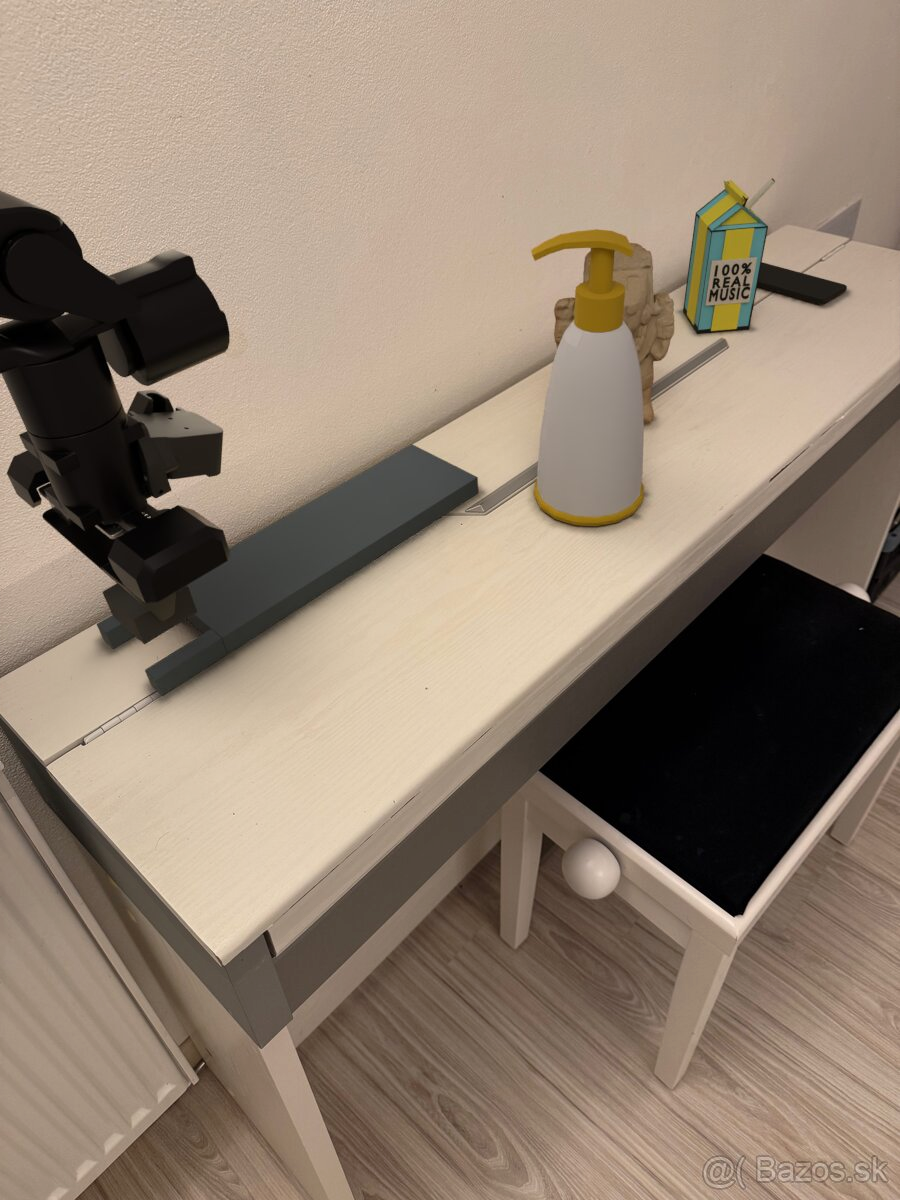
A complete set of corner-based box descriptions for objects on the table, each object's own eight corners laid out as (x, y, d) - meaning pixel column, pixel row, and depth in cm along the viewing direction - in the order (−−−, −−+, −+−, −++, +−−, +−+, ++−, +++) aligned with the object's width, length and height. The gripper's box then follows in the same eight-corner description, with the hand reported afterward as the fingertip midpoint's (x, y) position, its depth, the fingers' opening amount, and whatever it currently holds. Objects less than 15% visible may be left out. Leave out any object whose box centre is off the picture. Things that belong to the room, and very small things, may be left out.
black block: (113, 616, 64) (101, 591, 62) (165, 586, 66) (155, 561, 64) (144, 644, 61) (133, 619, 60) (197, 612, 64) (188, 586, 62)
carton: (756, 329, 114) (784, 184, 102) (697, 334, 114) (718, 190, 102) (738, 306, 120) (762, 166, 107) (682, 311, 119) (700, 171, 107)
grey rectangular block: (162, 696, 71) (155, 680, 70) (103, 639, 77) (95, 623, 75) (478, 492, 90) (477, 477, 89) (413, 459, 95) (411, 443, 94)
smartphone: (755, 259, 129) (849, 285, 120) (754, 265, 130) (847, 291, 121) (728, 273, 126) (823, 300, 117) (727, 279, 126) (822, 306, 118)
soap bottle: (525, 469, 93) (525, 216, 75) (633, 462, 92) (658, 207, 75) (535, 533, 84) (538, 265, 67) (653, 526, 84) (687, 255, 67)
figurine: (554, 441, 97) (559, 262, 83) (548, 408, 102) (552, 235, 89) (669, 434, 96) (693, 254, 83) (657, 402, 101) (677, 227, 88)
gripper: (271, 409, 51) (315, 601, 62) (115, 326, 62) (175, 504, 72) (104, 493, 46) (183, 689, 56) (-38, 387, 56) (51, 570, 66)
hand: (149, 602), depth 63 cm, fingers closed on black block, 4 cm apart
